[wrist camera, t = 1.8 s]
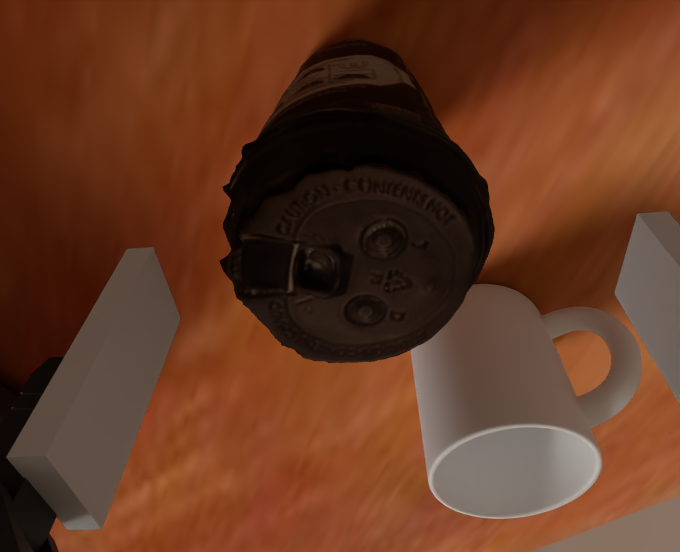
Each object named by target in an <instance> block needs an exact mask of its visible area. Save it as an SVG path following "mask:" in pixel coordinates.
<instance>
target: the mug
mask: <svg viewBox="0 0 680 552" xmlns="http://www.w3.org/2000/svg"><path fill="white" fill-rule="evenodd" d="M578 330H586V331H590V332H593V333H595V334H597V335H599V336H600V337H601V338H602V339H603V340H604V341H605V343H606V344H607V346H608V348H609V350H610V353H611V368H610V371H609V374H608V376H607V377H606V379H605V380H604V381H603V382H602V383H601V384H600V385H599V386H598V387H596V388H595V389H593V390H592V391H590V392H588V393H586V394H584V395H581V396H578V397H577V396H576V393H575V391H574V389H573V386H572V384H571V382H570V380H569V377H568V375H567V373H566V370H565V368H564V366H563V363H562V361H561V359H560V356H559V354H558V352H557V350H556V347H555V345H554V343H553V341H552V340H553V339H554V338H556V337H558V336H560V335H563V334H566V333H569V332H573V331H578ZM411 356H412V364H413V371H414V379H415V386H416V394H417V401H418V408H419V416H420V423H421V431H422V438H423V445H424V453H425V460H426V468H427V475H428V483H429V486H430V489H431V491H432V492H433V494H434V496H435V497H436V498H437V499H438V500H439V501H440V502H441V503H443V504H444V505H445V506H447V507H449V508H450V509H453V510H455V511H457V512H460V513H463V514H466V515H471V516H475V517H482V518H494V519H505V518H517V517H525V516H530V515H535V514H539V513H543V512H547V511H550V510H553V509H555V508H558V507H560V506H563V505H565V504H567V503H569V502H571V501H573V500H574V499H576V498H577V497H579V496H580V495H582V494H583V493H584V492H586V491H587V490H588V489H589V488H590V487H591V486H592V485H593V484H594V482H595V481H596V480H597V478H598V476H599V474H600V472H601V468H602V455H601V451H600V449H599V447H598V444H597V442H596V440H595V437H594V435H593V434H592V431H591V429H592V428H593V427H596V426H598V425H600V424H602V423H604V422H606V421H607V420H609V419H610V418H612V417H613V416H615V415H616V414H617V413H618V412H619V411H621V410H622V409H623V408H624V407H625V406H626V405H627V403H628V402H629V401H630V400H631V399H632V397H633V395H634V393H635V392H636V390H637V388H638V385H639V382H640V379H641V371H642V362H641V354H640V350H639V347H638V344H637V342H636V340H635V338H634V336H633V334H632V333H631V332H630V330H629V329H628V328H627V327H626V326H625V325H624V324H623V323H622V322H621V321H620V320H619V319H617V318H616V317H614V316H613V315H611V314H610V313H608V312H605V311H603V310H600V309H596V308H591V307H579V306H577V307H567V308H563V309H559V310H555V311H552V312H549V313H546V314H544V315H541V314H540V312H539V311H538V309H537V308H536V307H535V305H534V304H533V303H532V302H531V301H530V300H529V299H528V298H527V297H525V296H524V295H523V294H521V293H519V292H518V291H516V290H513V289H511V288H508V287H505V286H500V285H494V284H475V285H472V287H471V288H470V289H469V291H468V292H467V293H466V296H465V299H464V301H463V303H462V305H461V306H460V307H459V309H458V310H457V311H456V312H455V314H454V315H453V317H452V318H451V319H450V320H449V322H448V323H447V324H446V325H445V326H444V327H443V328H442V329H441V330H440V331H439V332H437V333H436V334H435V336H433V337H432V338H431V339H430V340H428V341H427V342H425V343H423V344H421V345H419V346H417V347H415V348H413V349H411Z"/></svg>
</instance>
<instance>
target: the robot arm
mask: <svg viewBox="0 0 680 552" xmlns="http://www.w3.org/2000/svg"><path fill="white" fill-rule="evenodd" d="M614 294H615V296H616V297H617V299H618V301H619V303H620V304H621V306H622V308H623V309H624V311H625V313H626V314H627V316H628V318H629V319H630V321H631V323H632V325H633V326H634V328H635V330H636V331H637V333H638V335H639V336H640V338H641V340H642V341H643V343H644V345H645V347H646V348H647V350H648V352H649V353H650V355H651V357H652V358H653V360H654V362H655V363H656V365H657V367H658V369H659V370H660V372H661V374H662V375H663V377H664V379H665V380H666V382H667V384H668V385H669V387H670V389H671V390H672V392H673V394H674V396H675V397H676V399H677V401H678V402H679V404H680V225H679V224H678V223H677V221H676V220H675V219H674V218H673V217H672V216H671V215H670V213H669V212H668V211H666V212H652V213H637V216H636V220H635V223H634V227H633V230H632V234H631V237H630V240H629V244H628V247H627V251H626V254H625V258H624V261H623V265H622V268H621V272H620V275H619V278H618V282H617V285H616V289H615V292H614ZM180 320H181V318H180V315H179V313H178V310H177V307H176V305H175V302H174V300H173V297H172V295H171V292H170V289H169V287H168V284H167V282H166V279H165V276H164V274H163V271H162V269H161V266H160V263H159V261H158V258H157V256H156V253H155V250H154V248H153V247H147V248H133V249H127V250H126V251H125V253H124V255H123V257H122V258H121V260H120V262H119V264H118V265H117V267H116V269H115V270H114V272H113V274H112V276H111V277H110V279H109V281H108V283H107V284H106V286H105V288H104V289H103V291H102V293H101V295H100V296H99V298H98V300H97V302H96V303H95V305H94V307H93V308H92V310H91V312H90V314H89V315H88V317H87V319H86V321H85V322H84V324H83V326H82V327H81V329H80V331H79V333H78V334H77V336H76V338H75V339H74V341H73V343H72V345H71V346H70V348H69V350H68V352H67V353H66V355H65V357H51V358H49V359H48V360H46V361H45V362H44V363H43V364H42V365H41V366H40V367H39V368H38V369H37V370H36V371H34V372H33V373H32V374H31V376H30V377H29V379H28V381H27V382H26V384H25V385H24V387H23V389H22V390H21V392H20V396H18V397H16V396H15V395H14V394H12V393H11V392H9V391H8V390H6V389H5V388H3V387H1V386H0V552H58V549H57V546H56V543H55V541H54V539H53V538H52V537H51V535H50V534H49V532H50V530H51V528H52V525H53V523H54V521H55V519H56V517H57V518H58V519H59V520H60V521H61V523H62V524H63V525H64V526H65V527H66V529H67V530H89V529H102V527H103V524H104V522H105V519H106V517H107V514H108V511H109V509H110V506H111V503H112V501H113V498H114V495H115V493H116V490H117V487H118V485H119V482H120V479H121V477H122V474H123V471H124V469H125V466H126V463H127V461H128V458H129V455H130V453H131V450H132V447H133V445H134V442H135V439H136V437H137V434H138V431H139V429H140V426H141V423H142V421H143V418H144V415H145V413H146V410H147V407H148V405H149V402H150V399H151V397H152V394H153V391H154V389H155V386H156V383H157V381H158V378H159V376H160V373H161V370H162V368H163V365H164V362H165V360H166V357H167V354H168V352H169V349H170V346H171V344H172V341H173V338H174V336H175V333H176V330H177V328H178V325H179V322H180Z"/></svg>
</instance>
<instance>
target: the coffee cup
mask: <svg viewBox="0 0 680 552" xmlns="http://www.w3.org/2000/svg"><path fill="white" fill-rule="evenodd" d="M242 156H243V157H242V159H241V161H240V162H239V163H238V164H237V166H236V169H235V172H234V173H233V175H232V177H231V180H230V183H229V184H227V185H225V186H223V187H222V188H223V191H224V192H225V193H226V194H227V195H228V196H229V198H230V199H231V203H230V206H229V208H228V213H227V215H226V218H225V220H224V222H223V229H224V231H225V233H226V236H227V239H228V242H229V244H230V247H231V249H232V250H231V252H230V253H229V255H228V256H226V257H225V258H224V259H222V260H220V264H221V266H222V269H223V271H224V272H225V274H226V275H227V276H228V277H229V279H230V280H231V281H232V282H233V284H234V291H235V294H236V297H237V298H238V299H239V300H240V301H242V302H243V305H245V306H246V307H247V308H249V309H250V310H251V312H252V313H253V314H254V315H255V316H256V317H257V318H258V319H259V320H260V321H261V322H262V323H263V324H264V325H265V326H266V327H267V328H268V329H269V330H270V332H271V333H272V334H273V335H274V337H275V338H276V339H277V340H278V341H279V342H280V343H281V345H283V346H286V347H288V348H292V349H294V350H295V351H296V352H297V353H298V354H300V355H301V356H302V357H303V358H305V359H310V360H313V361H326V362H328V363H336V362H338V363H346V362H351V363H352V362H372V361H377V360H382V359H387V358H389V357H394V356H398V355H400V354H402V353H405V352H407V351H409V350H411V349H413V348H415V347H417V346H419V345H421V344H423V343H425V342H427V341H428V340H430V339H431V338H432V337H433V336H435V334H436V333H437V332H439V331H440V330H441V329H442V328H443V327H444V326H445V325H446V324H447V323H448V322H449V320H450V319H451V318H452V317H453V315H454V314H455V312H456V311H457V310H458V309H459V307H460V306H461V305H462V303H463V301H464V299H465V296H466V293H467V292H468V291H469V289H470V288H471V287H472V285H473V284H474V283H475V281H476V280H477V278H478V276H479V274H480V272H481V270H482V268H483V266H484V263H485V261H486V259H487V257H488V254H489V252H490V248H491V246H492V243H493V238H494V231H495V229H494V224H493V218H492V213H491V209H490V205H489V192H488V184H487V182H486V180H485V179H484V178H483V177H482V176H480V175H479V173H478V171H477V170H476V168H475V166H474V165H473V163H472V161H471V160H470V159H469V157H468V156H467V155H466V154H465V153H464V152H463V150H462V149H461V148H460V147H459V146H458V145H457V144H456V143H455V142H453V141H452V140H451V139H450V138H449V136H448V135H447V134H446V133H445V130H444V129H443V127H442V125H441V123H440V121H439V120H438V119H437V117H436V116H435V114H434V111H433V109H432V106H431V104H430V102H429V100H428V98H427V96H426V95H425V93H424V91H423V89H422V88H421V86H420V85H419V83H418V82H417V81H416V79H415V77H414V76H413V75H412V73H411V72H410V71H409V70H408V69H407V67H406V65H405V64H404V62H403V61H402V59H401V58H400V57H399V55H397V54H396V53H395V52H393V51H392V50H390V49H388V48H386V47H383V46H380V45H377V44H374V43H371V42H368V41H364V40H348V41H342V42H338V43H336V44H333V45H331V46H329V47H326V48H324V49H322V50H320V51H318V52H316V53H315V54H313V55H312V56H311V57H310V58H309V59H308V60H307V61H306V62H305V63H304V64H303V65H302V66H301V67H300V69H299V72H298V74H297V75H296V77H295V79H294V80H293V81H292V83H291V84H290V86H289V87H288V88H287V90H286V91H285V92H284V93H283V95H282V97H281V99H280V101H279V103H278V104H277V106H276V108H275V109H274V112H273V114H272V115H271V116H270V117H269V119H268V121H267V122H266V124H265V125H264V127H263V128H262V130H261V132H260V134H259V136H258V138H257V139H256V140H255V141H253V142H251V143H248V144H246V145H244V146H243V148H242Z"/></svg>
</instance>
